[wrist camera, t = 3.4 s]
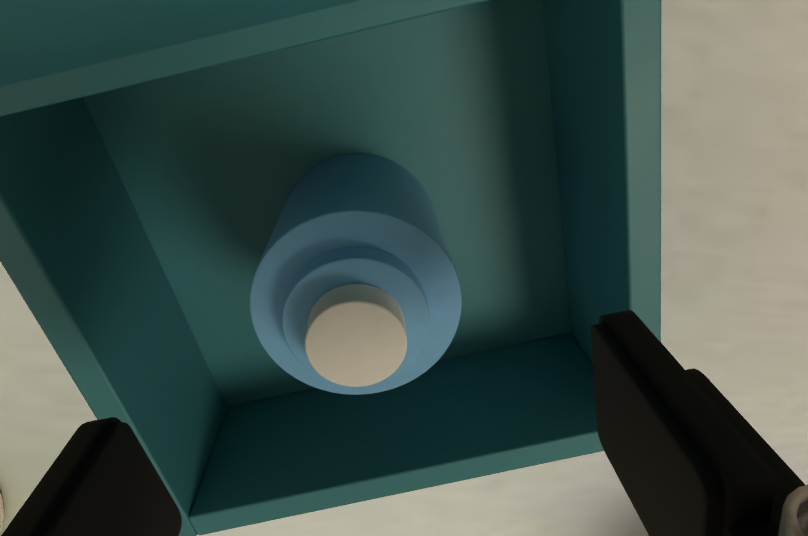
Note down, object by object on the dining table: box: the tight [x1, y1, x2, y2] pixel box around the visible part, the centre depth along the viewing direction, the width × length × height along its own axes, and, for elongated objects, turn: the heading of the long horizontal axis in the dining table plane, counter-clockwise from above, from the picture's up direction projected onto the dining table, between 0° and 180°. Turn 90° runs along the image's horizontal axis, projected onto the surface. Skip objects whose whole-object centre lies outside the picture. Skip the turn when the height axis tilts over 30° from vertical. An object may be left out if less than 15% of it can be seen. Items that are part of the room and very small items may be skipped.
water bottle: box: [250, 154, 462, 395], centre depth 17 cm, size 6×6×8 cm
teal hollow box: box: [0, 0, 661, 536], centre depth 18 cm, size 16×18×7 cm
